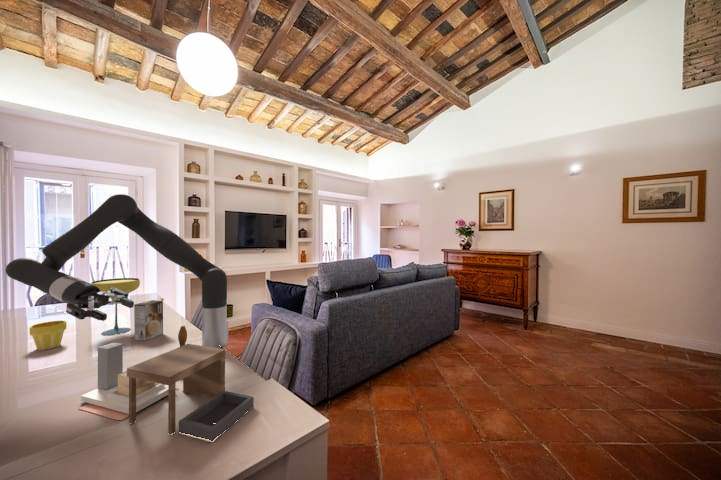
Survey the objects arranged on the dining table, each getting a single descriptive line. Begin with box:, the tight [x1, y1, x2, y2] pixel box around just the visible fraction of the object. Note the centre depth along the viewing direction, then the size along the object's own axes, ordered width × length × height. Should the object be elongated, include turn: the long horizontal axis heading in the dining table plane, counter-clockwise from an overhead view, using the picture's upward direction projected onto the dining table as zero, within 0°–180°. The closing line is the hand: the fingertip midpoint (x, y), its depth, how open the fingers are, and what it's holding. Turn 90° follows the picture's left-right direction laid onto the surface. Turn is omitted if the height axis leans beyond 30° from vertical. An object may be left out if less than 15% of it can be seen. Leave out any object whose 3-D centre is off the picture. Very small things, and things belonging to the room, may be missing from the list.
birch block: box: [118, 370, 155, 397], centre depth 80 cm, size 6×6×6 cm
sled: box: [80, 342, 168, 414], centre depth 81 cm, size 12×20×14 cm, turn 73°
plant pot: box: [29, 320, 67, 351], centre depth 117 cm, size 10×10×10 cm
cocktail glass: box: [90, 277, 141, 336], centre depth 137 cm, size 18×18×25 cm
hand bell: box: [177, 325, 188, 347], centre depth 96 cm, size 8×8×16 cm
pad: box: [78, 387, 179, 421], centre depth 81 cm, size 16×16×1 cm
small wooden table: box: [126, 343, 226, 434], centre depth 75 cm, size 17×14×14 cm
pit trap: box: [178, 390, 255, 441], centre depth 71 cm, size 14×10×3 cm
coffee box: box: [133, 300, 164, 341], centre depth 130 cm, size 9×6×16 cm
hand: (119, 311), depth 87 cm, fingers open, 8 cm apart
